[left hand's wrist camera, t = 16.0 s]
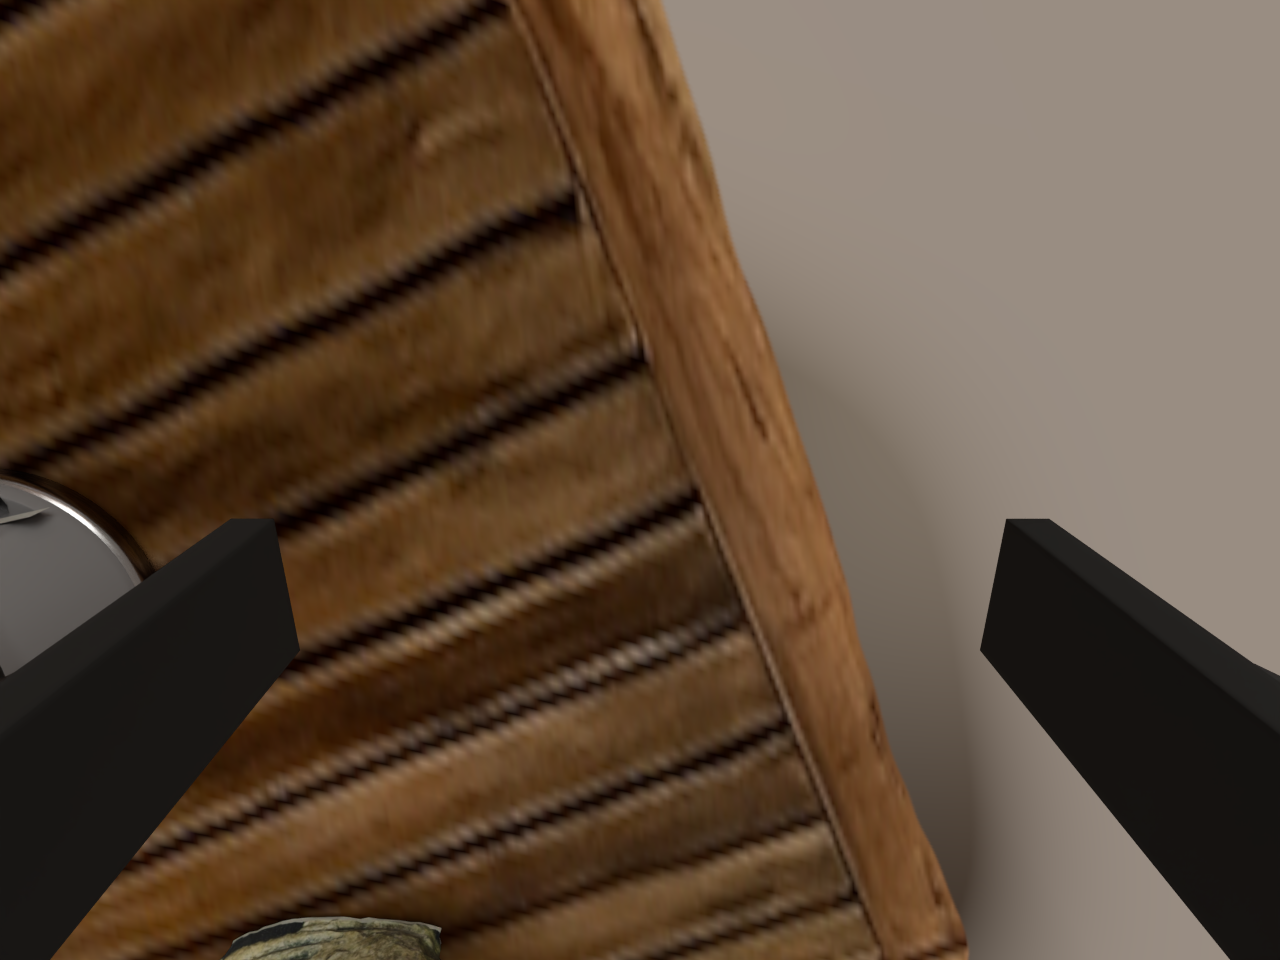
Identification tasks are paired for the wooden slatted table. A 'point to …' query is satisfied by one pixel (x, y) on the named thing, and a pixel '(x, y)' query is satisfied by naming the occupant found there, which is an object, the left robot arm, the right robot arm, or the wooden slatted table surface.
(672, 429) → the wooden slatted table surface
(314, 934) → the fossil
